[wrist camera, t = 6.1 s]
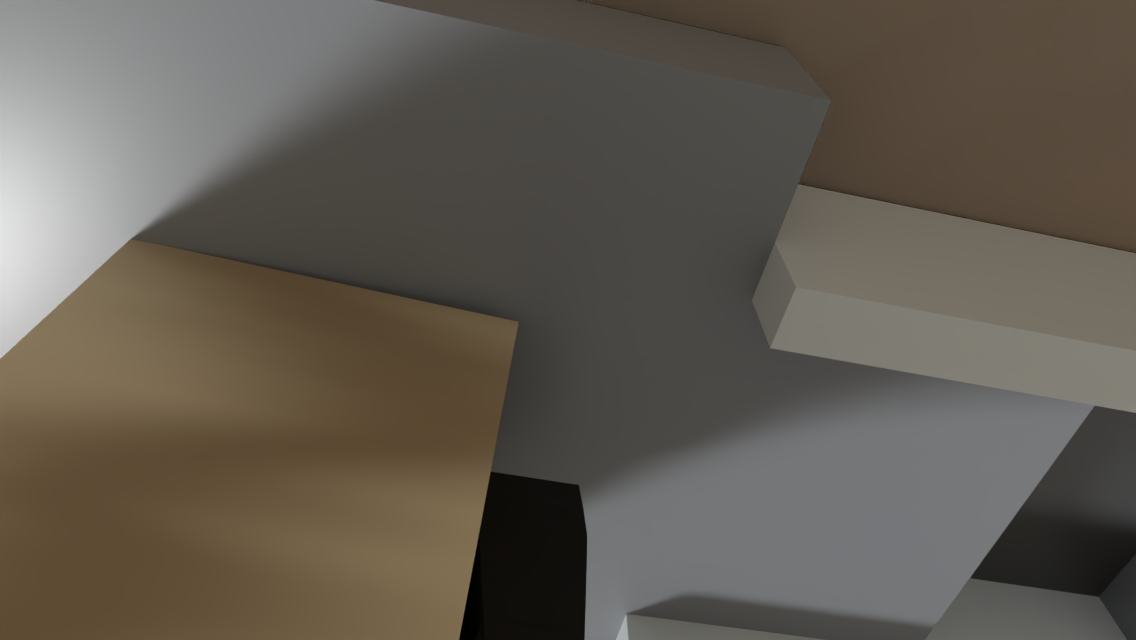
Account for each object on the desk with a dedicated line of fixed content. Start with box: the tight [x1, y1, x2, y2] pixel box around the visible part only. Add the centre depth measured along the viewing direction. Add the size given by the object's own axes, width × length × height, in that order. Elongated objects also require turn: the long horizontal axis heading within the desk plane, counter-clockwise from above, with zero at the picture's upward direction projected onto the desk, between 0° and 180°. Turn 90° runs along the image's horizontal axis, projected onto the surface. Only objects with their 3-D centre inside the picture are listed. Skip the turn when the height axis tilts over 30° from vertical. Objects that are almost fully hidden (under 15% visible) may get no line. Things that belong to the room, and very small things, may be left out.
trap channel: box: [0, 0, 1136, 640], centre depth 12 cm, size 23×11×3 cm, turn 78°
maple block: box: [0, 239, 519, 640], centre depth 9 cm, size 4×4×5 cm
